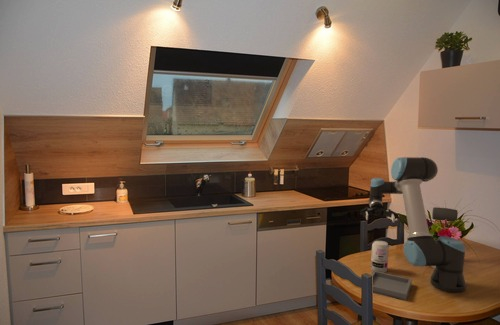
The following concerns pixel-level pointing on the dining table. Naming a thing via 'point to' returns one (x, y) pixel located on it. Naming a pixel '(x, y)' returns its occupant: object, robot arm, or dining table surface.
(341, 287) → the dining table surface
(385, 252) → the supplement can
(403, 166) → the robot arm
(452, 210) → the rubber mallet
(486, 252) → the dining table surface
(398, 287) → the tray
